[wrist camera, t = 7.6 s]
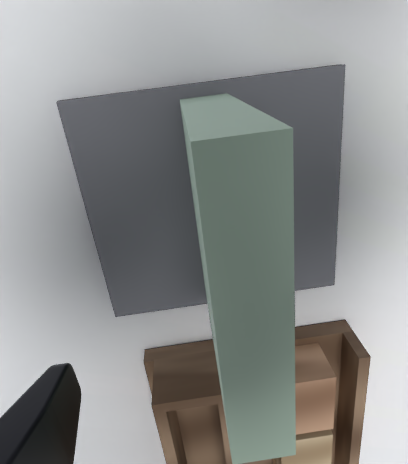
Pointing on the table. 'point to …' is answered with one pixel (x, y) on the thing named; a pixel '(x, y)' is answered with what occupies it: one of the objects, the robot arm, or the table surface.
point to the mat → (179, 184)
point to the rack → (211, 404)
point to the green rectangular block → (247, 266)
